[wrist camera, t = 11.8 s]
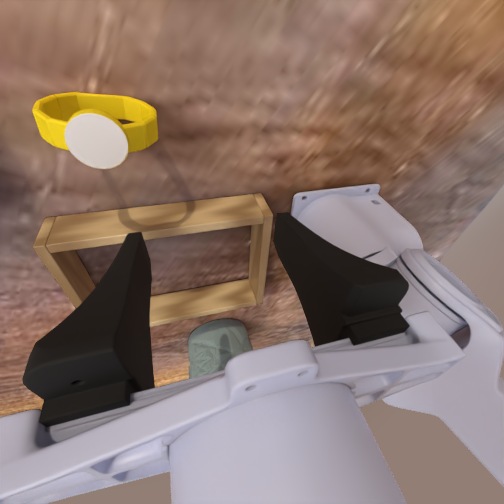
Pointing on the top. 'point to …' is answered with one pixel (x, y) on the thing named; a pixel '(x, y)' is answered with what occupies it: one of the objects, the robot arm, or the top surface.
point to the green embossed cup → (216, 346)
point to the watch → (96, 126)
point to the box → (158, 226)
